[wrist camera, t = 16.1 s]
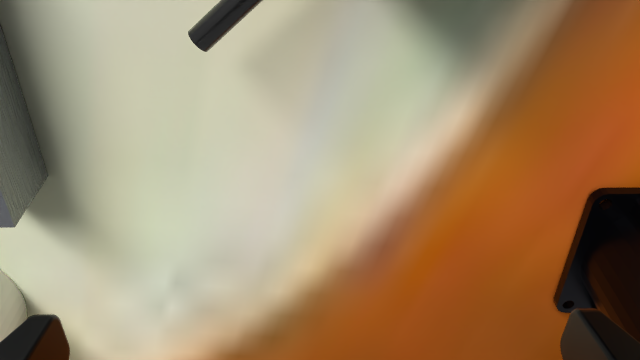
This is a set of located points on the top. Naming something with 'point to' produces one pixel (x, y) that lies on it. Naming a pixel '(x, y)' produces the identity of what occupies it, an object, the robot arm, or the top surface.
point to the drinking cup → (220, 22)
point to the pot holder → (16, 146)
